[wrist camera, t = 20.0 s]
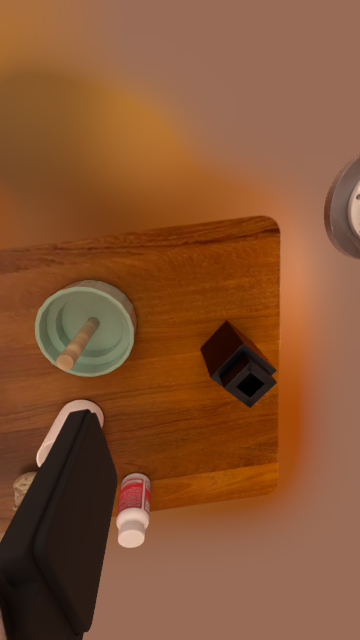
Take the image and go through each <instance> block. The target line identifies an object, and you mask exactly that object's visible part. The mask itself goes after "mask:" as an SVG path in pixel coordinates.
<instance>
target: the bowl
mask: <svg viewBox="0 0 360 640" xmlns="http://www.w3.org/2000/svg"><path fill="white" fill-rule="evenodd" d="M92 317H94V318H97V319H98V320H99V323H100V324H99V327H98V328H97V330H96V331H95V333H94V334H93V336H92V338H91V339H90V341H89V342H88V344H87V345H86V347H85V348H84V350H83V352H82V353H81V355H80V356H79V358H78V359H77V361H76V362H75V364H74V366H73V367H72V368H71V369H69V370H63V371H65V372H67V373H71V374H74V375H77V376H90V377H95V376H99V375H103V374H107V373H109V372H111V371H113V370H114V369H116V368H118V367H119V366H121V364H122V363H123V362H124V361H125V360H126V359H127V357H128V356H129V354H130V352H131V349H132V346H133V344H134V340H135V335H136V331H137V317H136V314H135V311H134V307H133V305H132V304H131V302H130V301H129V300H128V298H127V297H126V295H125V294H123V293H122V292H121V291H119V290H118V289H117V288H116V287H114V286H112V285H109V284H107V283H104V282H102V281H93V280H83V281H79V282H75V283H72V284H70V285H68V286H67V287H65V288H63V289H62V290H60V291H58V292H57V293H55V294H54V295H52V296H51V297H49V298H48V299H47V300H46V301H45V302H44V304H43V305H42V306H41V308H40V309H39V311H38V314H37V317H36V321H35V334H36V340H37V343H38V345H39V347H40V349H41V351H42V353H43V354H44V355H45V356H46V357H47V359H48V360H49V361H50V362H51V363H52V364H53V365H55V366H57V364H56V360H57V358H58V357H59V355H60V354H61V353H62V352H63V350H64V349H65V348H66V347H67V345H68V344H69V343H70V342H71V340H72V339H73V338H74V337H75V335H76V334H77V333H78V332H79V330H80V329H81V328H82V327H83V326H84V324H85V323H86V322H87V321H88V319H89V318H92ZM57 367H58V366H57ZM58 368H59V367H58ZM61 370H62V369H61Z"/></svg>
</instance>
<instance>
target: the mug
mask: <svg viewBox="0 0 360 640" xmlns="http://www.w3.org/2000/svg"><path fill="white" fill-rule="evenodd" d="M84 409H89V410H90V411H91V413H93V412H95V413H96V414H97V416H98V419H99V422H100V425H101V428H102V426H103V422H104V416H103V413H102V411H101V409H100V408H99V407H98V406H97V405H96V404H94V403H93V402H90V401H87V400H75V401H72V402H70V403H68V404H66V405H65V406H64V407H63V408H62V410H61V411H60V413H59V414H58V416H57V418H56V420H55V422H54V424H53V425H52V427H51V429H50V431H49V433H48V434H47V436H46V438H45V440H44V442H43V444H42V445H41V447H40V449H39V451H38V453H37V464H38V466H39V467H40V466H41V465H42V463H43V462H44V461H45V459H46V457H47V455H48V453H49V451H50V449H51V447H52V445H53V443H54V441H55V439H56V437H57V436H58V434H59V432H60V430H61V428H62V426H63V424H64V422H65V420H66V418H67V416H68V414H69V413H70V412H73V411H78V410H84Z"/></svg>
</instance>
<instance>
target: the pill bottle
mask: <svg viewBox="0 0 360 640" xmlns="http://www.w3.org/2000/svg"><path fill="white" fill-rule="evenodd" d="M149 514H150V480H149V479H148V477H146V476H145V475H143V474H140V473H134V474H130V475H128V476H127V477H125V478H124V480H123V482H122V485H121V492H120V499H119V506H118V513H117V521H116V523H117V527H118V529H119V533H118V542H119V544H120V545H122V546H124V547H128V548H133V547H137V546H139V545H141V544H142V543H143V541H144V537H145V529H146V528H147V526H148V524H149V516H150V515H149Z"/></svg>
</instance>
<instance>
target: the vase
mask: <svg viewBox="0 0 360 640" xmlns="http://www.w3.org/2000/svg"><path fill="white" fill-rule="evenodd" d="M201 352H202V355H203V357H204V360H205V363H206V366H207V369H208V372H209V375H210V378H212V379H213V380H214V381H216V382H217V383H218V384H220V385H221V386H222V387H224V389H225V390H227V391H228V392H229V393H231V394H232V395H233V396H235V397H236V398H238V399H239V400H240V401H242V402H243V403H244V404H246V405H247V406H248V407H250V408H251V407H252V406H253V405H254V404H255V403H256V402H257V401H258V400H259V399H260V398H261V397H262V396H263V395H264V394H265V393H266V392H267V391H269V390H270V389H271V388H272V387H273V386H274V385H275V384H276V383H277V382H276V381H275V379H274V378H273V377H272V376H271V375H272V374H273V373H275V372H276V369H275V368H274V367H273V365H272V364H271V363H270V362H269V361H268V360H267V358H266V357H265V356H264V355H263V354H262V352H261V351H260V350H259V349H258V348H257V346H256V345H255V344H254V343H253V342H252V341H251V340H249V339H248V338H247V337H246V336H245V335H244V334H242V333H241V332H240V331H239V330H238V329H236V328H235V327H234V326H233V325H232V324H230V323H229V322H228V321H226V322H225V323H224V324H223V325H222V326H221V327H220V328H219V329H218V330H217V331H216V332H215V333H214V334H213V336H212V337H211V338H210V339H209V340H208V341H207V342H206V343H205V344H204V345H203V346H202V347H201Z"/></svg>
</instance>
